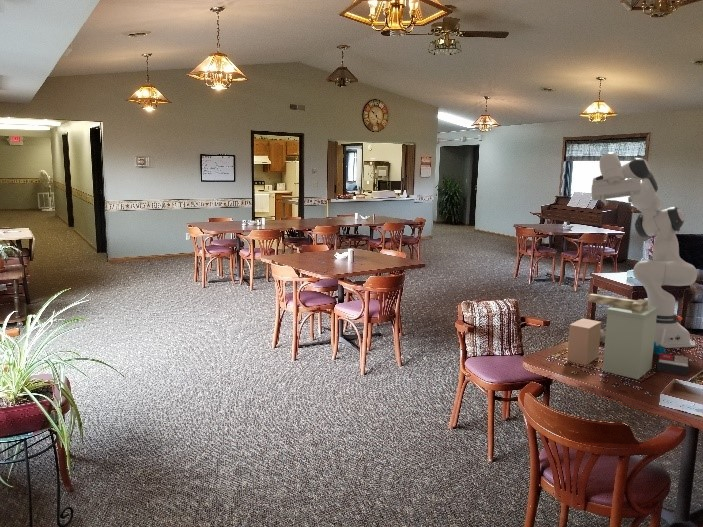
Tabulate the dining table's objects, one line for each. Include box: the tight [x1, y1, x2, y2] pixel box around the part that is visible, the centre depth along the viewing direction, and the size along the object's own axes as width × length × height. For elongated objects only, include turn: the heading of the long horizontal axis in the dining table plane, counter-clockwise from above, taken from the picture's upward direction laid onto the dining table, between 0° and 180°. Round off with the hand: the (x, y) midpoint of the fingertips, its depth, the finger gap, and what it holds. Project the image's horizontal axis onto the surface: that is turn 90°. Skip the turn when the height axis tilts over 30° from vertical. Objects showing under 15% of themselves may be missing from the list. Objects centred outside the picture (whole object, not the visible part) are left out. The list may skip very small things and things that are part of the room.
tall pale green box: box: [602, 305, 659, 380], centre depth 220 cm, size 14×18×26 cm
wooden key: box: [588, 293, 648, 312], centre depth 222 cm, size 21×10×3 cm, turn 46°
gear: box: [653, 342, 666, 356], centre depth 238 cm, size 11×6×10 cm
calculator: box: [656, 353, 690, 376], centre depth 224 cm, size 11×4×15 cm
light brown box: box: [566, 318, 602, 366], centre depth 233 cm, size 8×14×16 cm, turn 136°
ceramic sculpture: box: [600, 327, 606, 343], centre depth 254 cm, size 11×9×15 cm
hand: (618, 202), depth 235 cm, fingers open, 8 cm apart
